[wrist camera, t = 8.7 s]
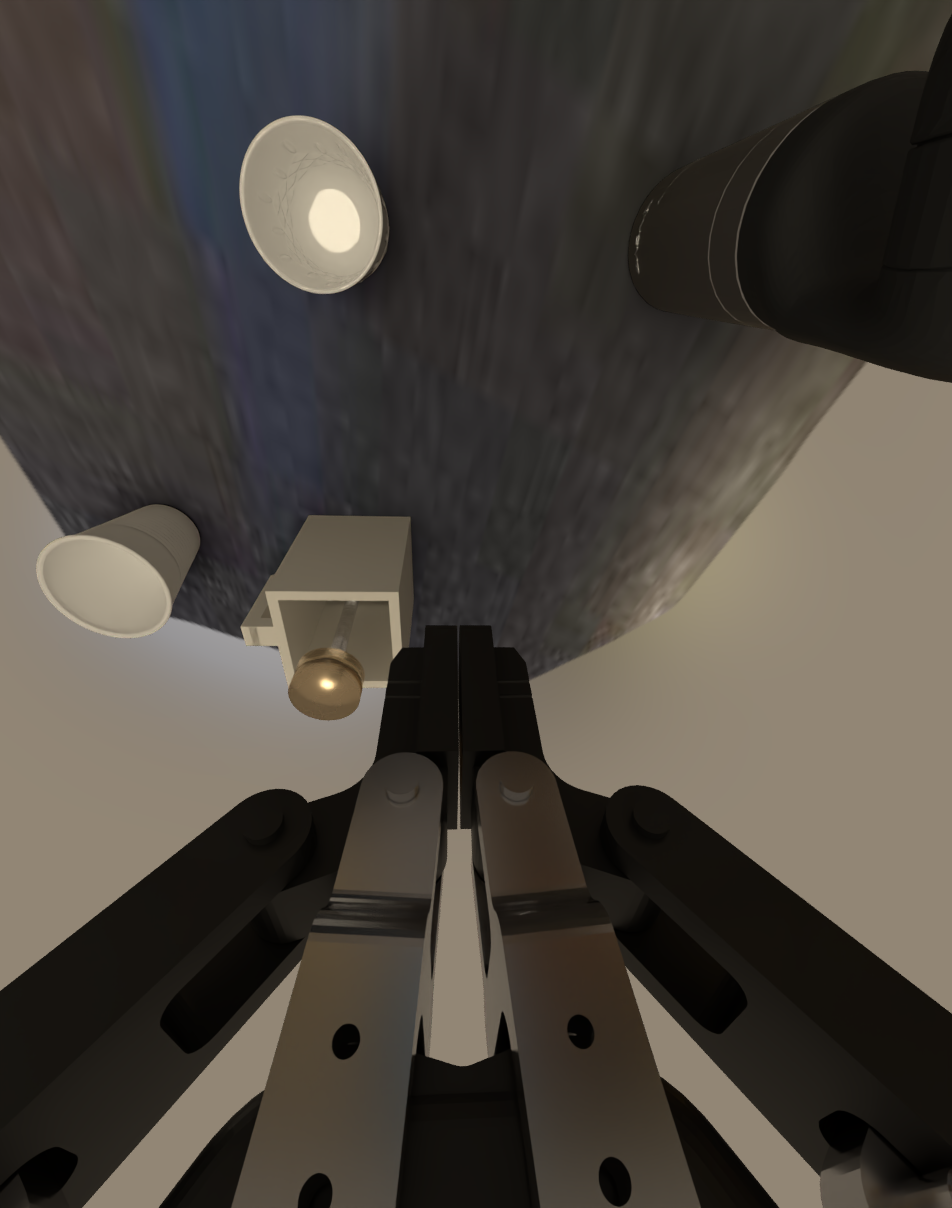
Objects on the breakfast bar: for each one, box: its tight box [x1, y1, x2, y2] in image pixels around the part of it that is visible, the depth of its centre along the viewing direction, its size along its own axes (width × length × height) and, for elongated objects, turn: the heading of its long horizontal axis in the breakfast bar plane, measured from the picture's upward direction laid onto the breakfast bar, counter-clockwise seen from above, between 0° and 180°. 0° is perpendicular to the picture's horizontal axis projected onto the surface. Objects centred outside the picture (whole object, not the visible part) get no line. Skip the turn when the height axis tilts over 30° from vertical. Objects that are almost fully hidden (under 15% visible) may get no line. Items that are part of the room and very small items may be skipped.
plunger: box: [288, 600, 365, 720], centre depth 43 cm, size 8×8×19 cm
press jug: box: [241, 515, 414, 688], centre depth 46 cm, size 13×10×14 cm
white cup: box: [240, 116, 390, 294], centre depth 32 cm, size 8×8×10 cm
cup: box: [36, 504, 200, 638], centre depth 44 cm, size 10×10×11 cm
